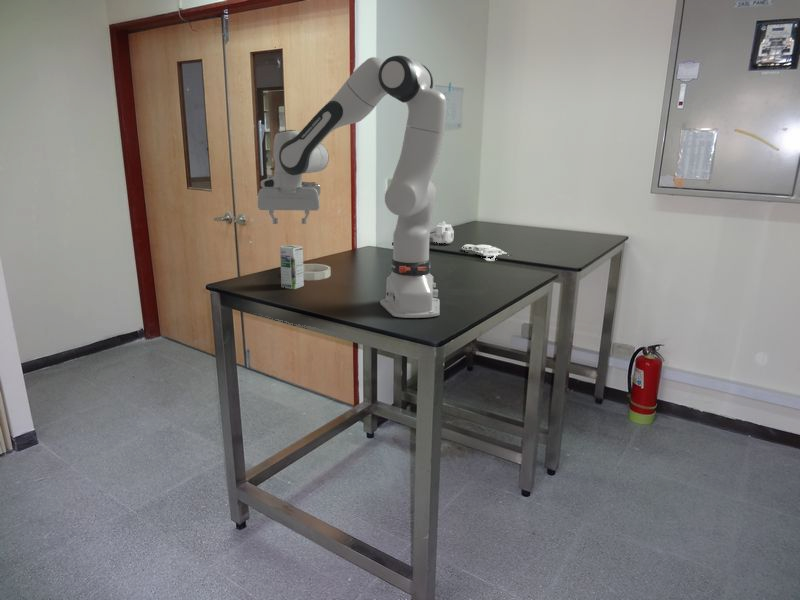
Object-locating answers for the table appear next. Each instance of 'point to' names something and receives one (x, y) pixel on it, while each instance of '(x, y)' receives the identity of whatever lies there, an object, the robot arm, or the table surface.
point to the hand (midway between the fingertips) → (289, 223)
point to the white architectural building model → (485, 250)
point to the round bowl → (316, 271)
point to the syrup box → (291, 266)
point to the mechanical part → (443, 233)
